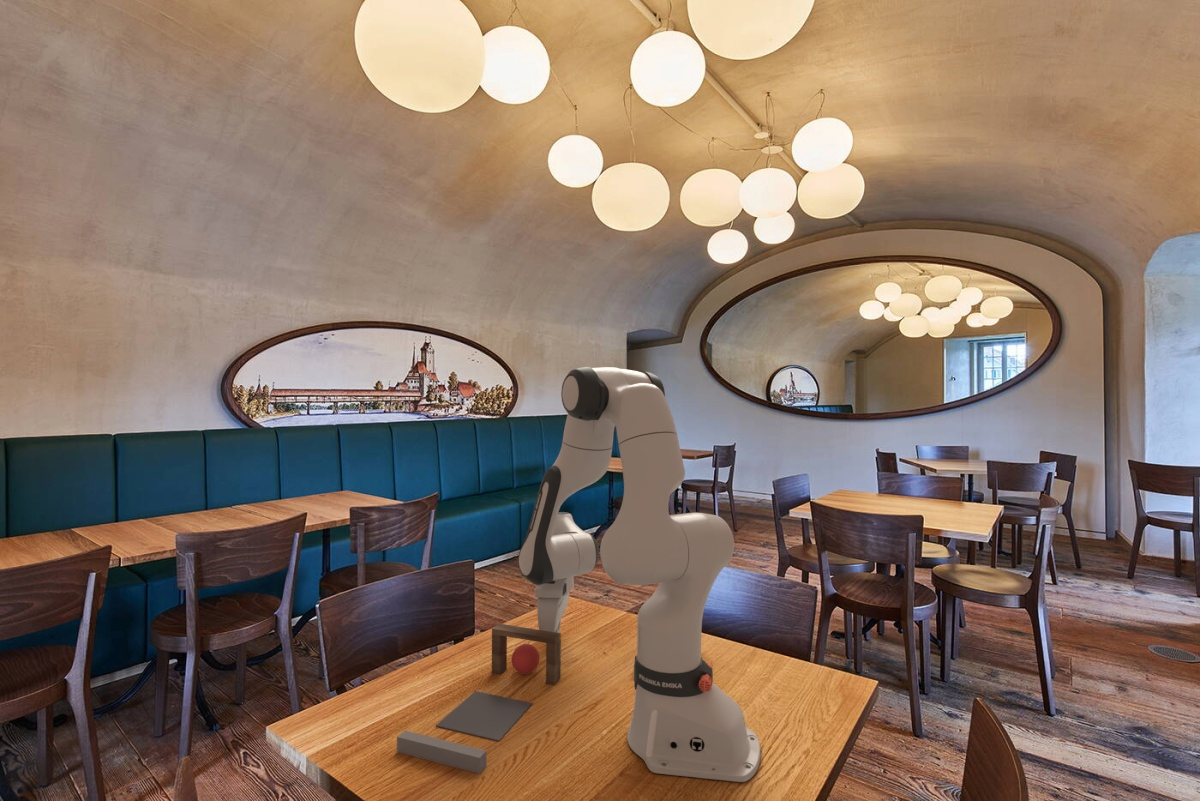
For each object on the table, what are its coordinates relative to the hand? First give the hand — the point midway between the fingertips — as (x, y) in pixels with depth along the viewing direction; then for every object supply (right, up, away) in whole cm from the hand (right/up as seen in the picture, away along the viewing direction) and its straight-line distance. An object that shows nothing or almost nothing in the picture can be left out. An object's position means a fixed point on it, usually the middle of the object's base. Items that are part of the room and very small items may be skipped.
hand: (554, 637), depth 134 cm
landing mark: (-11, -2, -29) cm, 31 cm away
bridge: (-5, -2, -14) cm, 15 cm away
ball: (-5, +1, -12) cm, 14 cm away
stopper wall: (-15, -2, -42) cm, 45 cm away
